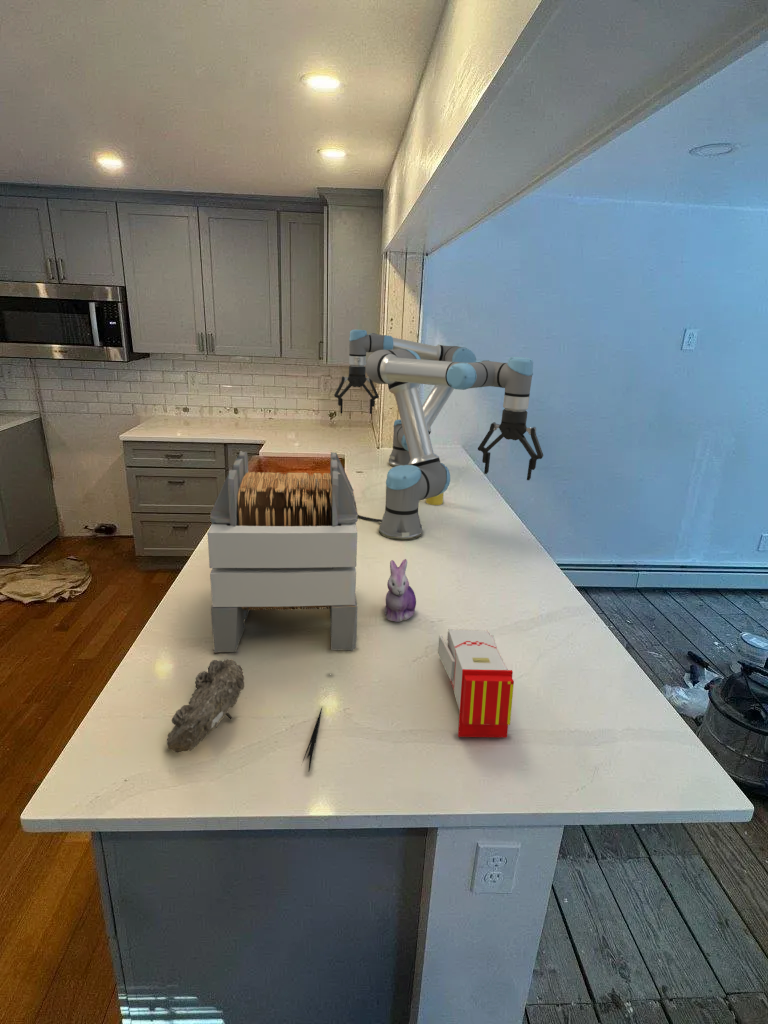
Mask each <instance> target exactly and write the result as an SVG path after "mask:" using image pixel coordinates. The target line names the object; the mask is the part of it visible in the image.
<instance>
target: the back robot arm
mask: <svg viewBox="0 0 768 1024" xmlns="http://www.w3.org/2000/svg"><path fill="white" fill-rule="evenodd" d="M348 343H349V344H348V346H349V347H348V350H349V351H348V365H349V366H348V376H344V375H342V376H341V381H340V383H339V384H338V386H337V388H336V390H335V393H334V394H333V395H334V398H337V405H338V406H339V408H340V409H339V410H340V414H343V406H344V405H343V401H344V399H343V397H344V396H345V394H346V393H347V392H348V391H349V390H350V388H363V389H364V391H366V393H367V394H368V395H369V396H370V398H369V414H370V415H372V414H373V407H375V405H376V404H375V403H376V401H375V400H376V399H379V398H380V396H379V393H378V392H377V389H376V387H375V385H374V382H373V381H372V380H371V379H370V378H369V377H366V374H367V373H366V368H365V366H366V361H367V353H373V352H375V351H378V350H393V349H408V350H412V351H414V352H416V353H417V354H418V355H419V357H420V358H421V360H435V361H448V362H464V363H475V362H477V357H476V354H475V353H474V351H473V350H471V349H469V348H467V347H466V346H465V347H464V346H459V345H444V344H443V345H442V344H437V345H432V344H426V343H422V342H418V341H413V340H407V339H403V338H397V337H393V336H392V335H387V334H378V333H374V332H371V333H369V334H368V332H367V330H366V329H351V330H350V331H349V339H348ZM347 381H348V384H347V385H346V386H345V388H344V389H342V388H343V386H344V384H345V382H347ZM366 382H368V383H369V385H370V387H371V389H372V391H371V390H370V389H369V388H368V387H367V386H366V384H365V383H366ZM341 390H342V391H341ZM454 390H455V389H454V388H452V387H447V386H437V385H433V387H432V389H431V391H430V392H429V394H428V396H427V398H426V399H425V401H424V402H423V404H422V408H423V412H424V416H425V420H426V424H427V428H428V432H429V435H430V434H431V433H432V425H433V424H434V423H435V421H436V420H437V417H438V415H439V414H440V412H441V411H442V410H443V408H444V406H445V404H446V403H447V401H448V400H449V398H450V397H451V395H452V393H453V392H454ZM340 391H341V392H340ZM372 392H373V393H372ZM373 394H374V395H373ZM392 427H393V435H392V450H391V453H390V454H389V458H388V463H387V464H388V466H391V467H392V468H393V467H396V466H400V465H403V466H404V465H408V464H409V462H410V460H411V458H410V454H409V450H408V446H407V442H406V438H405V434H404V430H403V426H402V422H401V419H395V420H394V421H393V426H392Z"/></svg>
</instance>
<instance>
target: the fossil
mask: <svg viewBox="0 0 768 1024" xmlns="http://www.w3.org/2000/svg"><path fill="white" fill-rule="evenodd" d="M243 670H244V669H243V667H242V665H240V664H237V662H236V661H235V660H234V659H232V658H231V659H227V658H226V659H224V660H223V661H222V660H217V659H212V660H211V661H210V663H209V665H208V666H207V671H201V672H199V673H198V674H197V675H196V676H195V680H194V684H195V685H194V687H195V689H194V690H193V693H192V694H191V697H190V698H189V700H188V704H184V705H182V706H181V707H180V709H177V710H176V711H175V713H174V715H173V716H172V718H171V723H172V724H173V727H172V730H171V731H170V732H168V734H167V738H166V741H167V742H166V745H167V749H168V750H169V751H173V752H174V753H176V754H178V753H182V752H188V751H189V752H192V751H193V750H195V748H196V747H197V746H199V744H200V743H201V742H203V741H204V740H205V739H206V738H207V737H208V736H209V735H210V734H211V733H212V732H214V730H215V729H217V727H218V726H219V724H220V722H221V721H222V720H223V719H224V718H225V716H226V717H227V719H229V720H233V717H232V715H230V714H229V710H230V709H231V708H234V706H235V704H236V703H237V702H238V699H239V697H240V695H241V693H242V691H243V690H245V689H244V688H245V675H244V671H243Z"/></svg>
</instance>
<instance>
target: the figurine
mask: <svg viewBox="0 0 768 1024" xmlns="http://www.w3.org/2000/svg"><path fill="white" fill-rule="evenodd" d="M407 567H408V559H406V558H404V559H403V560H402V561H401V563H400V565H399V566H398V565H397V563H396V562H395V561H394V560H393V559H391V560H390V561H389V570H390V576H389V578H388V579H387V589H388V591H387V592H386V594H385V595H386V596H385V607H384V615H385V616H386V620H387V621H391V622H395V623H400V622H402V621H406V620H409V619H410V618H411V617H413V616H414V615H415V610H416V606H417V597H416V593H415V591H414V590H413V587H411V586H410V582H409V579H408V577H407V574H406V571H407Z"/></svg>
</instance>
